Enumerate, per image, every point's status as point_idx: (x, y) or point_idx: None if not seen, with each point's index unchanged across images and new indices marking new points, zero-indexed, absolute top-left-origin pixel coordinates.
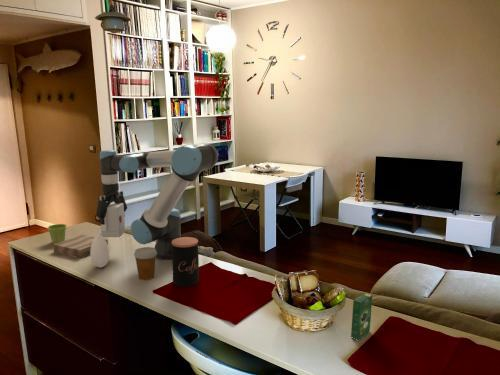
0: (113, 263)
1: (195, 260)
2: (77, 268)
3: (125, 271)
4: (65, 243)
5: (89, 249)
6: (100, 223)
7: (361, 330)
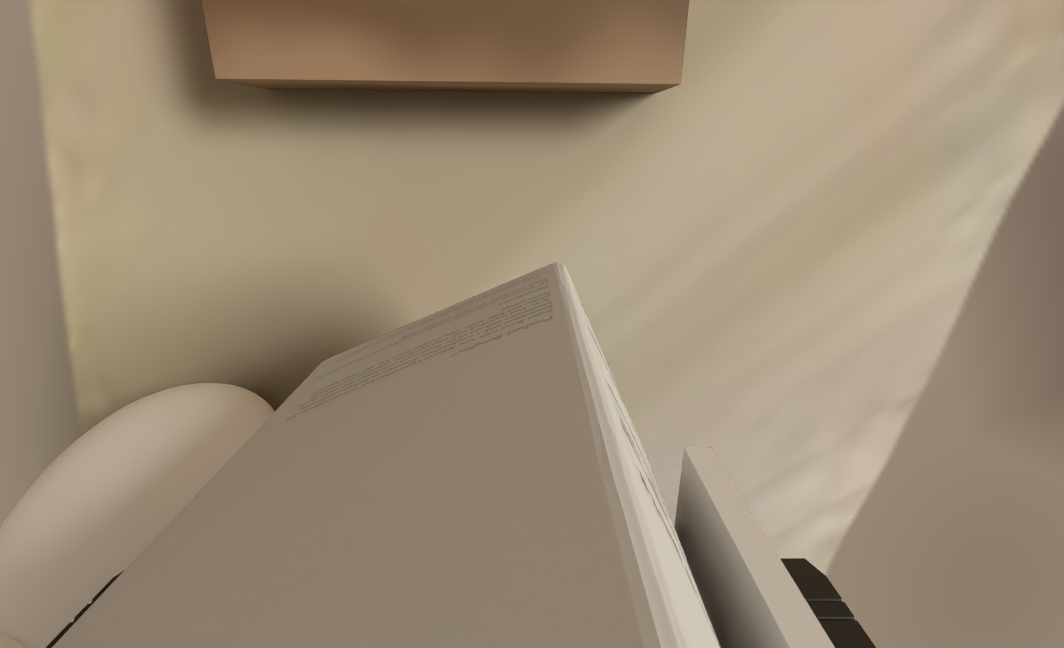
0: None
1: None
2: (103, 275)
3: None
4: None
5: (379, 83)
6: (115, 579)
7: None
